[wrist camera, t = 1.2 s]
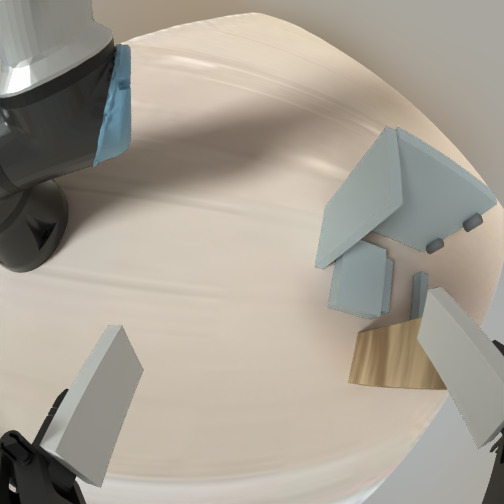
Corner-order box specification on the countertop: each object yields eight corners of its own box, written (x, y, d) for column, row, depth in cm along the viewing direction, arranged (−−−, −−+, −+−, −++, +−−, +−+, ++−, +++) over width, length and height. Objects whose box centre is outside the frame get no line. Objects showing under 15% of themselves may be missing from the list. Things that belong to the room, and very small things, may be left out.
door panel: (347, 382, 32) (433, 388, 18) (358, 332, 35) (442, 310, 20) (371, 386, 33) (458, 389, 18) (380, 338, 35) (466, 318, 21)
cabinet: (307, 301, 36) (391, 252, 19) (325, 201, 42) (386, 120, 25) (419, 332, 37) (512, 306, 20) (422, 242, 43) (495, 193, 26)
